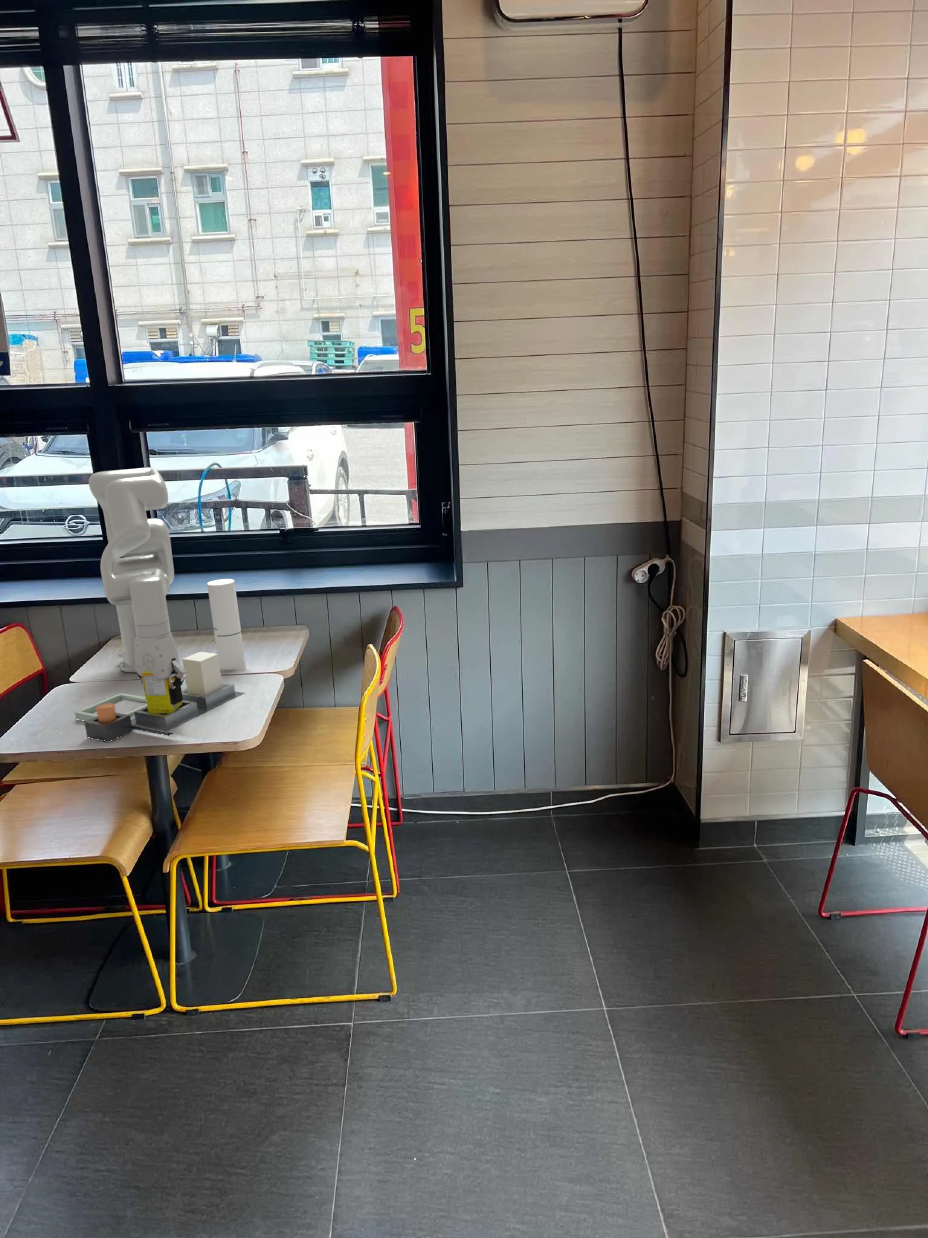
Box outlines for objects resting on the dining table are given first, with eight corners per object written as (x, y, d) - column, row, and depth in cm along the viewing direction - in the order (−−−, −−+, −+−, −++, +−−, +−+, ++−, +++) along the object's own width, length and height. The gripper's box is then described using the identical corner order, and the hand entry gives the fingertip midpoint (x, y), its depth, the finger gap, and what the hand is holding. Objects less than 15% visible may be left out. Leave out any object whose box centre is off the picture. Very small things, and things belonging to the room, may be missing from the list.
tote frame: (76, 720, 218) (74, 712, 217) (121, 700, 229) (120, 693, 229) (116, 728, 211) (114, 720, 210) (161, 707, 223) (160, 699, 222)
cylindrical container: (237, 663, 253) (225, 577, 247) (250, 668, 248) (239, 581, 242) (214, 670, 249) (202, 583, 242) (227, 675, 244) (215, 586, 237)
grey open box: (125, 727, 211) (123, 712, 210) (204, 690, 233) (202, 677, 232) (168, 736, 204) (166, 720, 203) (245, 697, 226) (244, 683, 225)
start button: (95, 725, 206) (92, 708, 205) (109, 719, 209) (106, 702, 208) (107, 727, 204) (104, 710, 203) (121, 721, 207) (118, 704, 206)
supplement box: (183, 707, 215) (176, 663, 212) (172, 716, 209) (165, 672, 206) (159, 707, 216) (152, 664, 213) (148, 716, 210) (141, 672, 207)
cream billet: (188, 701, 223) (182, 658, 220) (205, 692, 228) (200, 651, 225) (206, 704, 220) (200, 661, 217) (223, 695, 225) (217, 654, 222)
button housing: (87, 738, 206) (84, 722, 205) (111, 727, 212) (109, 711, 211) (108, 742, 203) (105, 726, 201) (132, 731, 208) (130, 715, 207)
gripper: (113, 630, 208) (126, 701, 213) (168, 637, 200) (179, 711, 205) (139, 621, 214) (150, 690, 219) (192, 628, 206) (203, 699, 211)
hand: (164, 700), depth 212 cm, fingers closed on supplement box, 7 cm apart
